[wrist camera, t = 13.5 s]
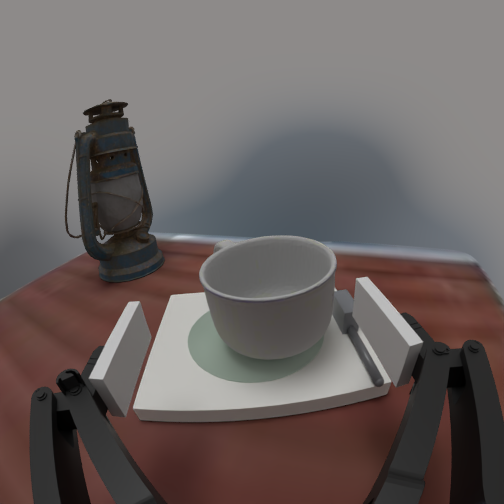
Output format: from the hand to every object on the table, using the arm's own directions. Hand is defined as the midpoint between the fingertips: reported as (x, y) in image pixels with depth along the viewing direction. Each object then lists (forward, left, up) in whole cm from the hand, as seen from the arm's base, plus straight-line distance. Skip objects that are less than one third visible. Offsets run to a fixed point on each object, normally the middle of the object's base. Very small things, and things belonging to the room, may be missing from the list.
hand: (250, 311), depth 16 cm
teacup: (+1, +8, -8) cm, 11 cm away
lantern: (-22, +32, -9) cm, 40 cm away
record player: (0, +8, -9) cm, 12 cm away
